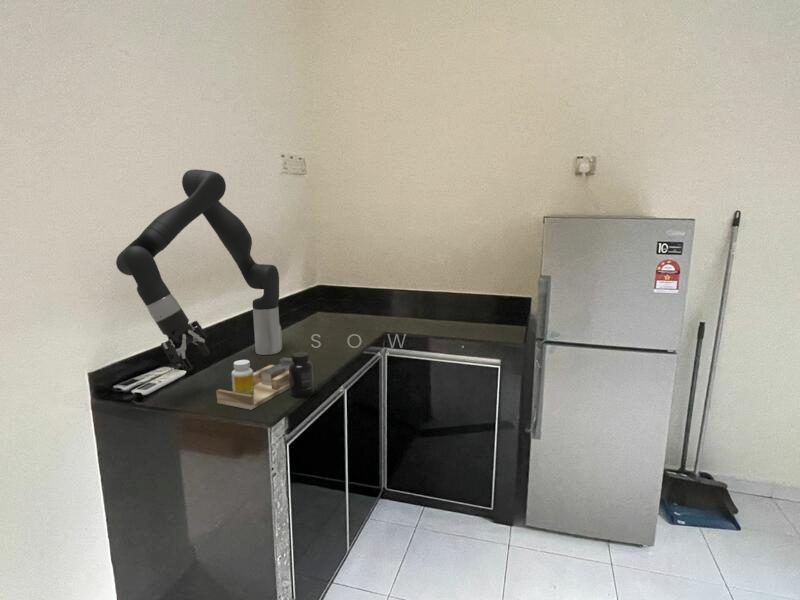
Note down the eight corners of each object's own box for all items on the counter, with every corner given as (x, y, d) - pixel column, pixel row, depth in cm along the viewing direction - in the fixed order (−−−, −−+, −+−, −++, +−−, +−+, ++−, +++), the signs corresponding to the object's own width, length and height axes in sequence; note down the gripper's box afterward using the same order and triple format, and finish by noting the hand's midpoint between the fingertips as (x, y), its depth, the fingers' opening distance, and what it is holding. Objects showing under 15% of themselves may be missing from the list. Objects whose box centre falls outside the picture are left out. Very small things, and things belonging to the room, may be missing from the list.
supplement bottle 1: (229, 396, 135) (226, 362, 133) (247, 391, 139) (245, 357, 137) (239, 402, 132) (237, 366, 130) (258, 396, 136) (256, 361, 134)
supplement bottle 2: (315, 389, 144) (313, 350, 142) (312, 397, 137) (310, 357, 135) (292, 389, 144) (290, 351, 142) (288, 398, 137) (285, 358, 135)
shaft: (284, 371, 156) (283, 357, 155) (296, 373, 154) (296, 359, 153) (260, 383, 145) (259, 368, 144) (273, 386, 143) (272, 370, 142)
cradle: (269, 376, 155) (269, 364, 154) (300, 381, 150) (300, 368, 149) (217, 403, 134) (216, 388, 133) (251, 409, 129) (250, 395, 129)
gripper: (160, 320, 125) (194, 372, 129) (193, 299, 138) (222, 347, 142) (140, 329, 127) (173, 379, 132) (173, 307, 140) (203, 354, 145)
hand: (198, 362), depth 137 cm, fingers open, 8 cm apart
